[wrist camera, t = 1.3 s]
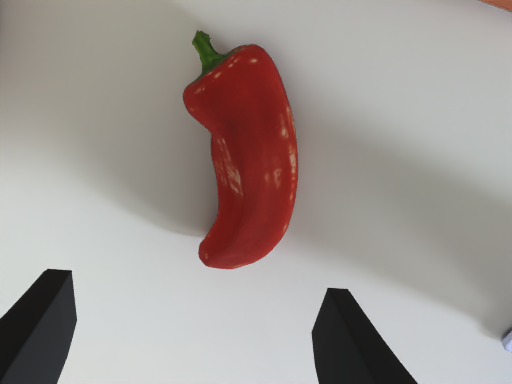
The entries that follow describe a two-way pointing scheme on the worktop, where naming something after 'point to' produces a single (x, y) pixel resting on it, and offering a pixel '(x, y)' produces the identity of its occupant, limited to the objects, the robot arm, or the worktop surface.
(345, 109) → the worktop surface
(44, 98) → the worktop surface
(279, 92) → the vegetable
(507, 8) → the tray
